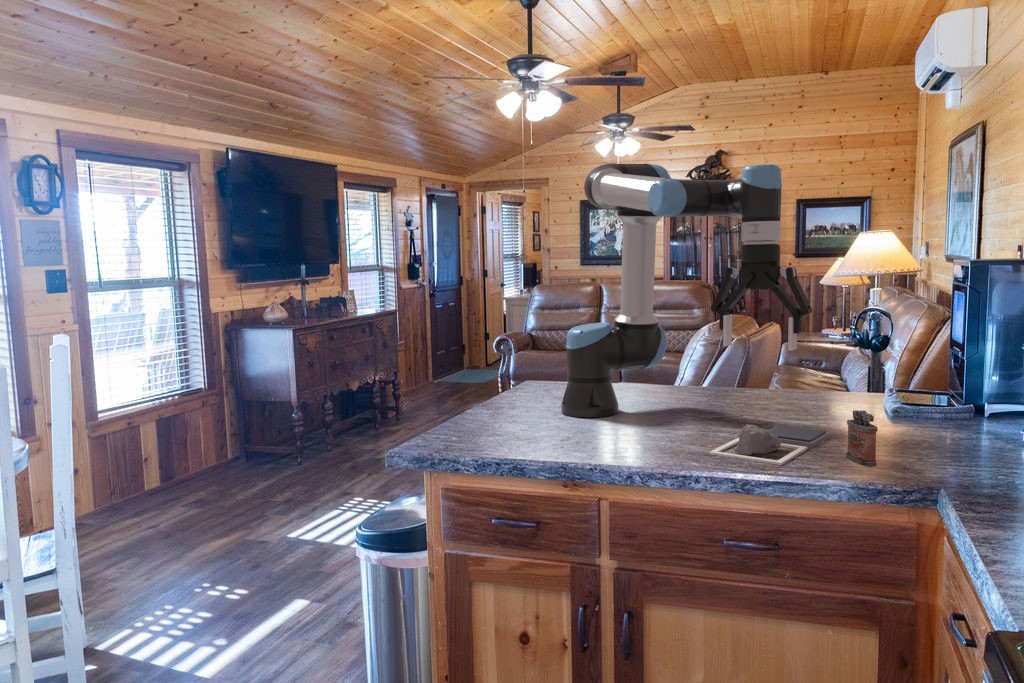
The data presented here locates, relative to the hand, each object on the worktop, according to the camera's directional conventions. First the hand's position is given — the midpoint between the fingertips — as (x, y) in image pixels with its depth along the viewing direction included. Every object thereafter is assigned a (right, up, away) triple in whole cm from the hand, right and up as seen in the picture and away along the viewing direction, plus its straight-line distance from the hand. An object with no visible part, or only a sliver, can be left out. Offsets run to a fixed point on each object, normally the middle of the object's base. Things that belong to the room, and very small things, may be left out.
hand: (759, 347), depth 157 cm
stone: (0, -22, +3) cm, 22 cm away
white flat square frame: (+1, -22, +2) cm, 22 cm away
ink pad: (+12, -20, +12) cm, 26 cm away
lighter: (+18, -22, -7) cm, 29 cm away
